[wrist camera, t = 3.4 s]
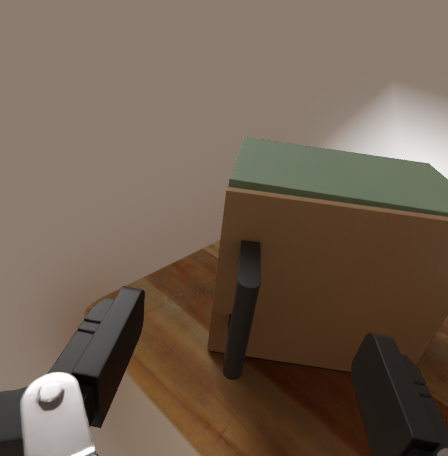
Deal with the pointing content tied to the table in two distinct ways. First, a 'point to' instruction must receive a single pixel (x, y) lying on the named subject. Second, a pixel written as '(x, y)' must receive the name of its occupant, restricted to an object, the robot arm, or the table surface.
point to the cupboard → (339, 176)
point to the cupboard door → (324, 280)
